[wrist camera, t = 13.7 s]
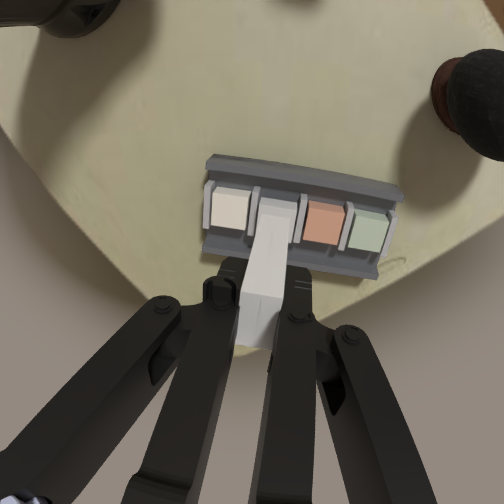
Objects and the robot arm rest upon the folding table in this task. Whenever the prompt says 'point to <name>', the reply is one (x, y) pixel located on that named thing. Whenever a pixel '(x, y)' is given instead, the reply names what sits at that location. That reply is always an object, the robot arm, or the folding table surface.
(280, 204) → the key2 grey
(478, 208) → the folding table surface
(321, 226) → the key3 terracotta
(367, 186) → the keypad board
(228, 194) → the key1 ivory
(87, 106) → the folding table surface
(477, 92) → the black ball on stand
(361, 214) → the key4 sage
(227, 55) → the folding table surface
